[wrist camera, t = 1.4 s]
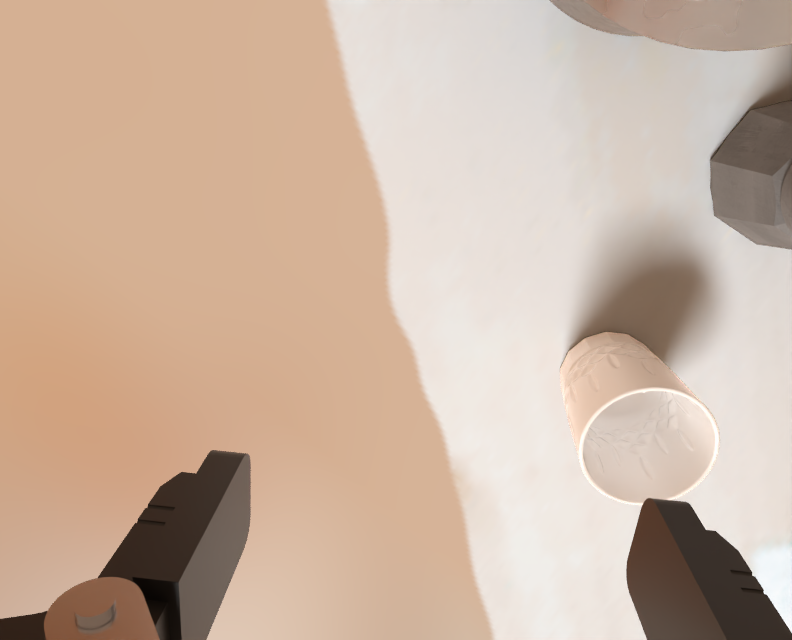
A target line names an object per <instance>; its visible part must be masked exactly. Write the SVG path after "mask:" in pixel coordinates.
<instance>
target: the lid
mask: <svg viewBox="0 0 792 640" xmlns="http://www.w3.org/2000/svg"><path fill="white" fill-rule="evenodd" d="M584 1H585V2H586V3H588V4H589V5H590V6H592V7H593V8H594V9H596V10H597V11H598V12H600V13H601V14H602V15H604V16H605V17H607V18H608V19H610V20H612V21H614V22H616V23H618V24H619V25H621V26H623V27H625V28H627V29H628V30H630V31H632V32H635V33H638V34H640V35H643V36H646V37H648V38H651V39H654V40H656V41H659V42H663V43H668V44H672V45H677V46H682V47H686V48H691V49H703V50H716V51H739V50H758V49H766V48H772V47H778V46H783V45H789V44H792V0H584Z"/></svg>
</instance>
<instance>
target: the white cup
mask: <svg viewBox="0 0 792 640" xmlns="http://www.w3.org/2000/svg"><path fill="white" fill-rule="evenodd" d="M560 383H561V391H562V395H563V400H564V406H565V410H566V413H567V418H568V422H569V426H570V430H571V433H572V437H573V440H574V444H575V447H576V451H577V454H578V458H579V461H580V465H581V468H582V471H583V473H584V475H585V476H586V478H587V479H588V481H589V482H590V483H591V484H592V485H593V486H594V487H595V488H596V489H597V490H598V491H599V492H601V493H602V494H604V495H605V496H607V497H609V498H611V499H613V500H616V501H619V502H622V503H627V504H633V505H643V503H644V501H645V500H646V499H647V498H654V499H663V500H673V499H676V498H678V497H680V496H682V495H684V494H686V493H687V492H689V491H691V490H692V489H693V488H695V487H696V486H697V485H698V484H699V483H700V482H701V481H702V480H703V479H704V478H705V477H706V476H707V475H708V473H709V472H710V470H711V469H712V467H713V465H714V463H715V461H716V459H717V456H718V452H719V446H720V435H719V429H718V426H717V423H716V421H715V418H714V417H713V415H712V413H711V412H710V411H709V409H708V408H707V407H706V406H705V405H704V404H703V403H702V402H701V401H700V400H699V399H698V398H697V397H696V396H695V394H694V393H693V392H692V391H691V390H690V389H689V388H688V387H687V386H686V385H685V384H684V383H683V382H682V381H681V380H680V378H679V377H678V376H677V375H676V374H675V373H674V372H673V371H672V370H671V369H670V368H669V367H667V366H666V365H665V364H664V362H663V361H661V360H660V359H659V358H658V357H657V356H656V355H655V354H653V353H652V352H651V351H650V350H649V349H648V348H647V347H646V345H644V344H643V343H641V342H639V341H638V340H636V339H635V338H633V337H631V336H630V335H628V334H623V333H613V332H603V333H600V334H596V335H593V336H590V337H586V338H584V339H583V340H582V341H581V342H579V343H578V344H577V345H576V346H575V347H573V348H572V349H571V350H570V351H569V352H568V353H567V356H566V358H565V360H564V362H563V364H562V366H561V368H560Z"/></svg>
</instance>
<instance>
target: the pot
mask: <svg viewBox="0 0 792 640" xmlns="http://www.w3.org/2000/svg"><path fill="white" fill-rule="evenodd" d="M550 1H551V2H552V3H553V4H554V5H555V6H556V7H557V8H559V9H560V10H561V11H562V12H564V13H565V14H567V15H568V16H570V17H571V18H573V19H575V20H576V21H578V22H580V23H582V24H585V25H587V26H589V27H591V28H593V29H597V30H600V31H604V32H607V33H611V34H618V35H625V36H643V35H640V34H638V33H635V32H632V31H630V30H628V29H627V28H625V27H623V26H621V25H619V24H618V23H616V22H614V21H612V20H610V19H608V18H607V17H605V16H604V15H602V14H601V13H600V12H598V11H597V10H596V9H594V8H593V7H592V6H590V5H589V4H588V3H586V2H585V1H584V0H550Z"/></svg>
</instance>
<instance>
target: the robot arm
mask: <svg viewBox="0 0 792 640" xmlns="http://www.w3.org/2000/svg"><path fill="white" fill-rule="evenodd" d="M249 526H250V456H249V455H248V454H244V453H235V452H226V451H216V450H212V451H210V453H209V454H208V455H207V457H206V459H205V460H204V462H203V463H202V465H201V467H200V468H199V470H198V472H197V473H196V474H195V473H186V472H181V473H179V474H178V475H176V476H175V477H173V478H172V479H171V480H169V481H168V482H166V483H165V484H163V485H162V486H160V488H159V490H158V491H157V492H156V494H155V495H154V497H153V498H152V500H151V501H150V503H149V504H148V508H146V509H145V510H144V511H143V513H142V514H141V515H140V517H139V518H138V522H137V523H135V524H134V526H133V527H132V529H131V530H130V532H129V533H128V534H127V536H126V537H125V539H124V540H123V542H122V543H121V545H120V546H119V548H118V549H117V550H116V552H115V553H114V555H113V556H112V558H111V559H110V561H109V562H108V563H107V565H106V566H105V568H104V569H103V571H102V572H101V574H100V575H99V577H98V578H96V579H92V580H89V581H86V582H83V583H81V584H78V585H76V586H74V587H72V588H71V589H69V590H68V591H66V592H64V593H63V594H62V595H61V596H60V597H58V598H57V600H56V601H55V602H54V603H53V604H52V605H51V607H50V608H49V610H48V611H46V612H42V613H37V614H32V615H25V616H18V617H11V618H4V619H0V640H206V639H207V636H208V634H209V631H210V629H211V626H212V624H213V622H214V619H215V617H216V615H217V612H218V610H219V608H220V605H221V603H222V600H223V598H224V595H225V593H226V590H227V588H228V586H229V583H230V581H231V579H232V576H233V574H234V571H235V569H236V567H237V564H238V562H239V559H240V557H241V555H242V552H243V550H244V547H245V544H246V541H247V536H248V532H249ZM627 584H628V589H629V593H630V595H631V598H632V601H633V603H634V606H635V609H636V611H637V614H638V616H639V619H640V622H641V624H642V627H643V630H644V632H645V635H646V637H647V640H792V633H791V632H790V630H789V628H788V627H787V625H786V624H785V622H784V621H783V619H782V618H781V616H780V615H779V613H778V612H777V610H776V608H775V607H774V605H773V604H772V602H771V601H770V599H769V598H768V596H767V595H765V594H764V593H763V591H764V590H763V588H762V587H761V585H760V584H759V582H758V581H757V579H756V578H755V577H754V576H752V571H751V570H750V568H749V567H748V565H747V564H746V562H745V561H744V559H743V558H742V556H741V554H740V553H739V551H738V550H737V549H735V548H734V547H733V546H732V545H731V544H730V543H729V542H727V541H726V540H725V539H724V538H723V537H722V536H720V535H719V534H718V533H717V532H716V531H710V530H705V528H704V526H703V525H702V523H701V521H700V520H699V518H698V516H697V515H696V513H695V512H694V510H693V508H692V507H691V505H690V504H689V503H687V502H681V501H672V500H663V499H654V498H647V499H646V500H645V501H644V503H643V505H642V508H641V512H640V515H639V519H638V523H637V526H636V530H635V534H634V537H633V541H632V545H631V548H630V552H629V556H628V560H627Z"/></svg>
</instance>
